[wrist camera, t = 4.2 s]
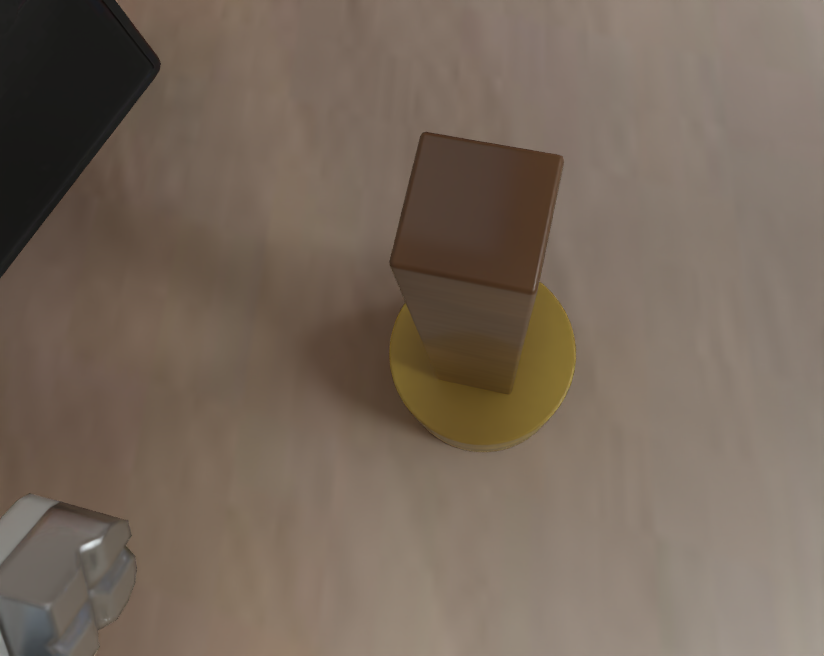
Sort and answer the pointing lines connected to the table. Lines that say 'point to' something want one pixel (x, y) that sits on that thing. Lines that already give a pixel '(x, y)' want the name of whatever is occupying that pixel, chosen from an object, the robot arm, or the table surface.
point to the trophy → (479, 294)
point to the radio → (60, 101)
